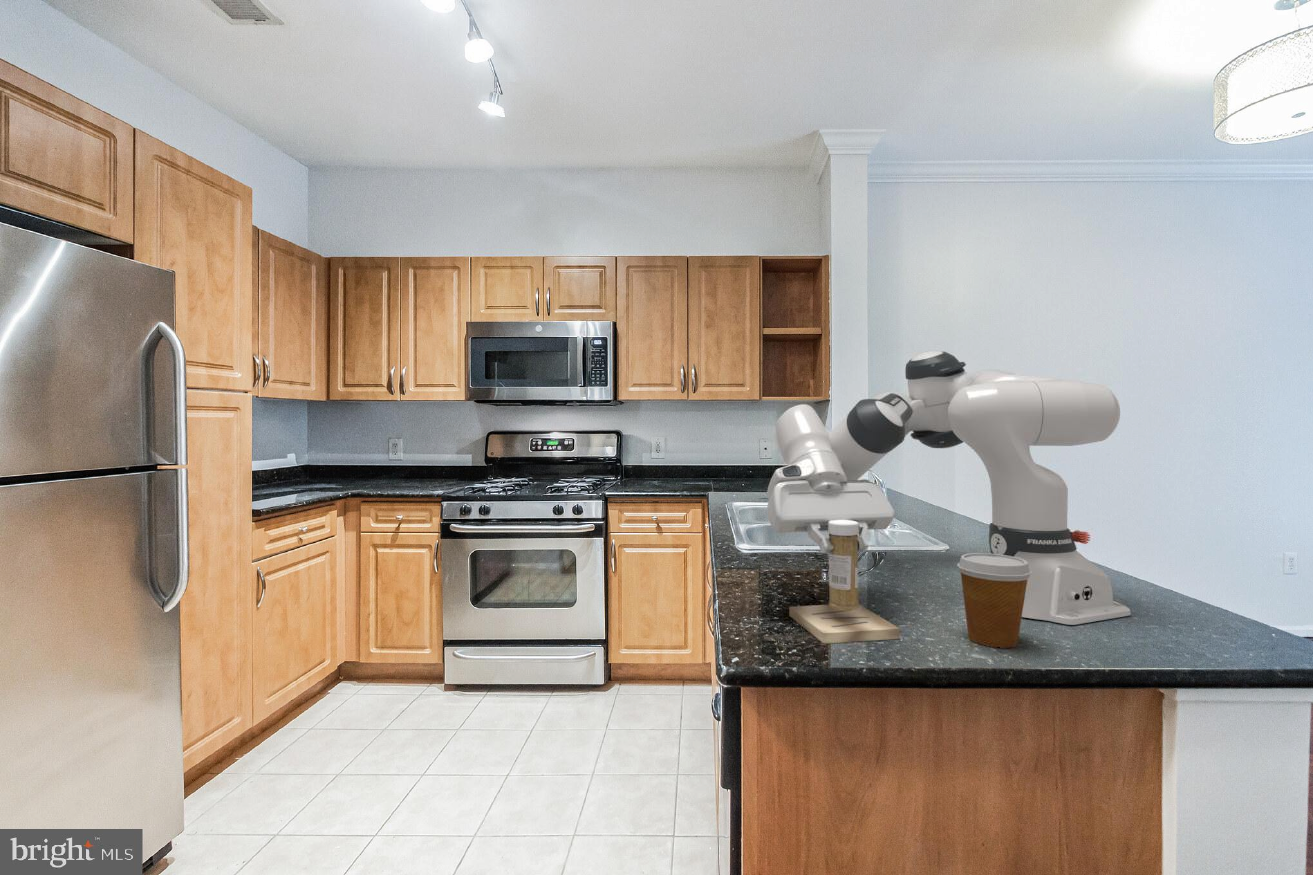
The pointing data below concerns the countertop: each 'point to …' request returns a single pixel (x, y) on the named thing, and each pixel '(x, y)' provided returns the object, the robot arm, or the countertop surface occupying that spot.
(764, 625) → the countertop surface
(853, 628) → the maple board
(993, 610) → the disposable coffee cup
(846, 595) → the sprinkles bottle
